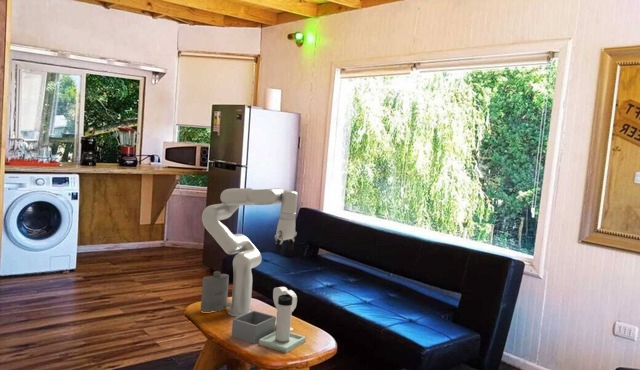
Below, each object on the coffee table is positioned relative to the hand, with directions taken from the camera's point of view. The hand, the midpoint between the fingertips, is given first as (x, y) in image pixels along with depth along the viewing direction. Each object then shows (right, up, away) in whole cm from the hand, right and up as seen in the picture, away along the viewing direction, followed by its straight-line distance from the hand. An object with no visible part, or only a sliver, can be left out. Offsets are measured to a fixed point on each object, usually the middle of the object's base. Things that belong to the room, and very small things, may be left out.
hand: (284, 250), depth 244 cm
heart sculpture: (-1, -36, -2) cm, 36 cm away
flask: (-37, -32, +11) cm, 50 cm away
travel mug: (+1, -37, -23) cm, 43 cm away
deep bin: (-13, -36, -17) cm, 42 cm away
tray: (+1, -37, -23) cm, 44 cm away
